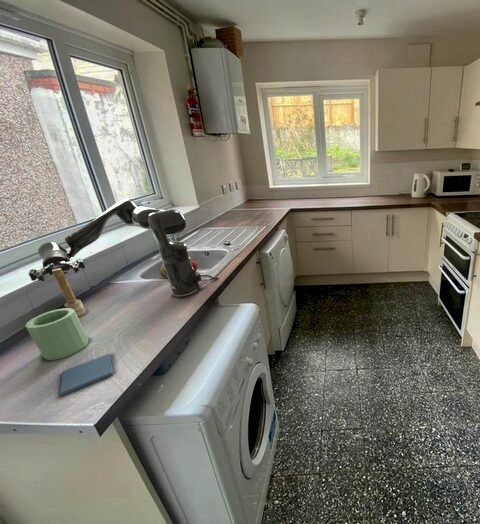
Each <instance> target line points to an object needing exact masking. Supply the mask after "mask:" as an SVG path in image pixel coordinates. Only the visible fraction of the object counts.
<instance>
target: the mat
mask: <svg viewBox="0 0 480 524" xmlns="http://www.w3.org/2000/svg"><path fill="white" fill-rule="evenodd" d="M61 374H62V376H61V383H60V390H59V395H60V396H64V395H66V394H67V395H68V394H69V393H72V392H74V391H76V390H79V389H81V388H83V387H86V386H88V385H91V384H94V383H96V382H98V381H101V380H103V379H106V378H107V377H110V376H113V374H114V373H113V364H112V355H111V353H107V354H105V355H102V356H100V357H96V358H94V359H92V360H89V361H86V362H83V363H81V364H79V365H76V366H73V367H71V368H68V369H65V370H63V371H62V373H61Z"/></svg>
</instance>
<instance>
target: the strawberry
mask: <svg viewBox="0 0 480 524" xmlns="http://www.w3.org/2000/svg"><path fill="white" fill-rule="evenodd" d="M191 263H192V266H193V268H194V269H195V272H196V271H197V270H198V263H197V262H196V261H194V260H193V259H191Z"/></svg>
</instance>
